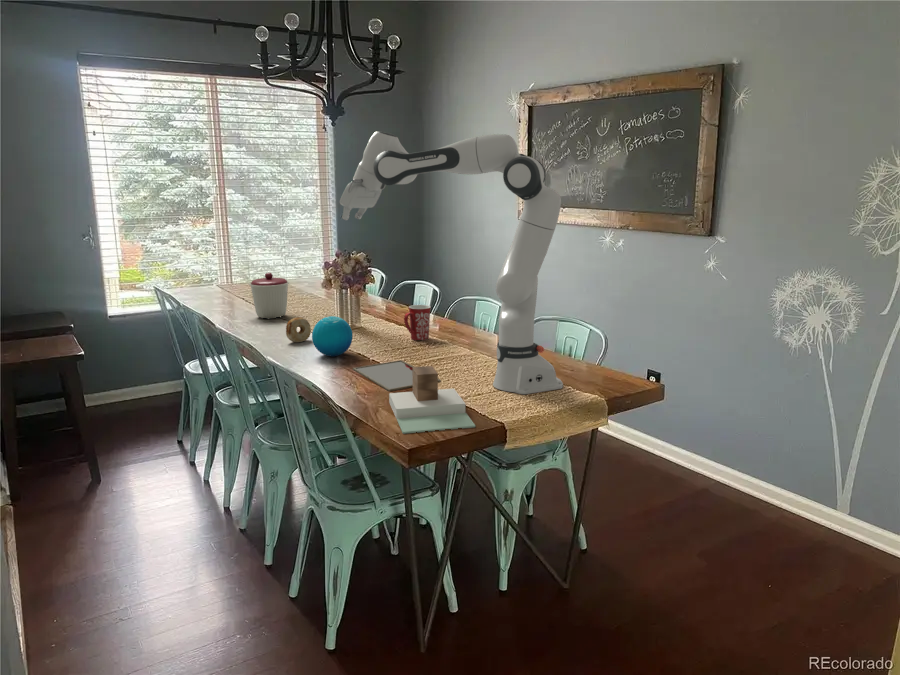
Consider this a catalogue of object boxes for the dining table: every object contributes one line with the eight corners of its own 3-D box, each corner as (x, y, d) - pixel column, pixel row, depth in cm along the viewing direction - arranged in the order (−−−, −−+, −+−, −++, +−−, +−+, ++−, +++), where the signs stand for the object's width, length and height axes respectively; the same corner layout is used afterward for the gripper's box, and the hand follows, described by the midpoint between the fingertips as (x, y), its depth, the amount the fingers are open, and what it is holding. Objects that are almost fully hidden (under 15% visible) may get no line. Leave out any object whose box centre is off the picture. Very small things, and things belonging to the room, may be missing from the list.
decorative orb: (340, 362, 245) (338, 322, 242) (305, 358, 251) (302, 319, 247) (360, 352, 259) (359, 314, 255) (326, 348, 264) (324, 311, 261)
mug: (420, 334, 286) (420, 303, 283) (435, 338, 280) (435, 306, 276) (397, 340, 277) (397, 307, 274) (412, 344, 271) (411, 311, 268)
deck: (454, 397, 208) (454, 388, 207) (465, 413, 195) (465, 403, 194) (389, 402, 204) (389, 393, 203) (396, 419, 191) (396, 409, 190)
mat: (466, 414, 194) (466, 412, 194) (475, 427, 185) (475, 425, 184) (397, 420, 190) (397, 418, 190) (402, 433, 180) (402, 431, 180)
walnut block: (432, 391, 205) (432, 365, 203) (437, 399, 197) (437, 373, 195) (412, 392, 204) (412, 367, 202) (417, 401, 196) (417, 374, 194)
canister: (297, 313, 327) (294, 270, 322) (281, 321, 310) (278, 276, 305) (262, 312, 331) (259, 269, 325) (244, 320, 313) (241, 275, 308)
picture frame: (440, 383, 224) (401, 362, 247) (440, 380, 224) (401, 360, 247) (388, 392, 214) (352, 370, 237) (388, 389, 214) (352, 367, 237)
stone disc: (290, 344, 270) (288, 320, 268) (285, 343, 273) (284, 318, 270) (313, 340, 277) (311, 316, 274) (308, 338, 279) (307, 315, 277)
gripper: (361, 183, 206) (344, 224, 211) (388, 184, 226) (371, 222, 230) (344, 174, 208) (328, 215, 212) (372, 176, 227) (356, 213, 231)
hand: (351, 218), depth 221 cm, fingers open, 8 cm apart
